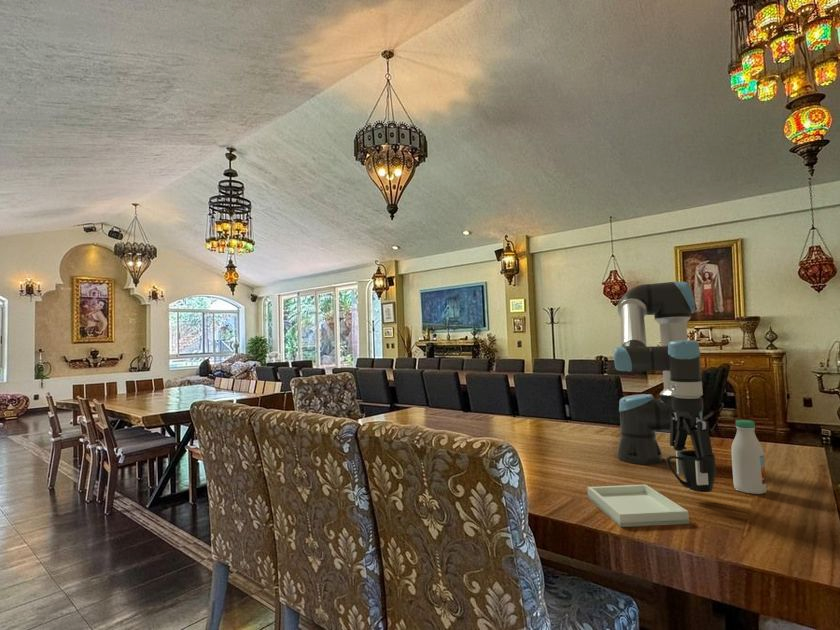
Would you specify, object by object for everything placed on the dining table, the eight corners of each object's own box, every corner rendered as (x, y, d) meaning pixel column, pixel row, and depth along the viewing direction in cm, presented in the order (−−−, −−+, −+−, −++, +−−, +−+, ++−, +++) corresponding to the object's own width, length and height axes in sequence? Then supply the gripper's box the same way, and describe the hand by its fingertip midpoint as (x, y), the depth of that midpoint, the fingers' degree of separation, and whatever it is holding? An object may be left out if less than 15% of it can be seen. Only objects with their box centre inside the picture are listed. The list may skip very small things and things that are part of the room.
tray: (646, 494, 129) (645, 484, 129) (689, 523, 109) (688, 511, 109) (588, 497, 129) (587, 487, 129) (620, 527, 109) (619, 514, 109)
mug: (664, 483, 128) (661, 450, 129) (710, 484, 126) (707, 450, 127) (674, 493, 120) (670, 457, 121) (723, 494, 118) (720, 457, 119)
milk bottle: (757, 496, 125) (752, 424, 126) (728, 489, 131) (723, 420, 132) (772, 491, 128) (766, 421, 129) (742, 484, 135) (737, 417, 136)
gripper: (653, 391, 134) (657, 467, 133) (697, 403, 113) (703, 493, 113) (677, 390, 134) (682, 466, 134) (726, 401, 113) (732, 491, 113)
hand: (692, 478), depth 123 cm, fingers closed on mug, 8 cm apart
